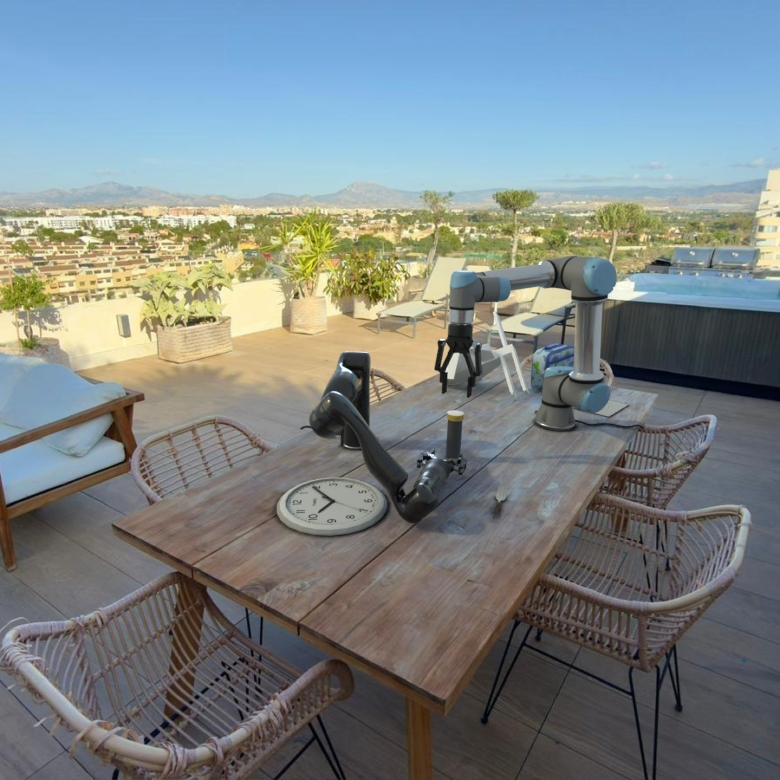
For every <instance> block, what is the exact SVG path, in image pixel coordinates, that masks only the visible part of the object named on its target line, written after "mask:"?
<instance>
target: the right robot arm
mask: <svg viewBox="0 0 780 780" xmlns="http://www.w3.org/2000/svg"><path fill="white" fill-rule="evenodd" d="M617 280H618V273H617V269H616V267H615V266H614V264H613V263H612V262H611V261H610V260H609V259H607V258H606V259H605V258H601V257H597V256H595V257H594V256H578V255H569V256H562V257H558V258H553V259H546V260H542V261H540V262H539V263H538V264H531V265H523V266H515V267H508V268H500V269H491V270H484V271H477V272H476V271H474V270H453V271H452V273H451V275H450V281H449V301H448V302H449V303H448V306H449V307H448V322H449V323H448V324H447V337H446V339H443V338H440V339H438V340H437V353H436V357H435V364H434V368H433V369H434V371H435V372H438V373H439V383H440V384H441V394H442V395H445V394H446V393H447V392H448V385H447V378H448V372H445V371H446V369H447V367H448V366H449V362H450V360H451V358H452V356H453V354H454V353H460V354H463V356H464V358H465V361H466V364H467V367H468V370H469V373H470V376H469V377H468V383H467V385H466V386H467V388H466V398H467V399H470V398H471V397H472V394H473V388H475V386H476V383H475V382H476V377H477V376H480V375H481V374H482V363H481V348H482V345H483V344H482V343H481V342H474V340H473V331H474V324H473V322H474V317H475V304H479V303H499V302H505V301H507V300H508V299H509V297H510V295H511V293H512V291H517V290H524V289H531V288H539V287H540V288H542V289H558V290H559V289H560V290H565V291H570V292H571V293H570V299H571V301H572V302H573V303H574V304H575V311H574V312H575V313H574V314H575V315H574V317H575V318H574V344H573V345H574V365H573V367H567V366H556V367H549V368H547V369H546V370H545V374H544V380H543V390H541V391H542V392H541V402H540V405H539V407H538V409H535V410H534V415H535V416H534V424H535V425H536V426H537V427H539V428H542V429H544V430H549V431H556V432H567V431H572V430H574V429H575V428H576V423H578V424H582V425H585V426H592V427H594V426H595V427H596V426H603V425H604V426H613V427H618V428H622V429H623V428H624V429H631V428H635V427H638V428H640V429H641V430H642V429H643V430H645V427H644V426H642V425H641V424H633V425H622V424H616V423H612V422H596V423H588V422H585V421H583V420H578V419H576V418H575V417H576V416H575V413H574V409H576V408H577V409H576V410H579V411H581V412H583V413H588V414H596V412H599V411H600V410H602V409H603V408H604V406H605V405H606V404H607V403H608V401H609V400H610V399H611V388H610V387H609V385H608V383H607V384H606V383H604V382H605V375H604V373H603V371H601V346H602V327H603V326H602V325H603V305H604V303H605V302H606V301H607V300H608V299H609V294H611V293H612V292H613V291H614V288H615V287H616V285H617ZM446 344H447V346H448V348H449V349H448V351H447V354H446V356H445V358H444V360H443V357H444V351H445V346H446ZM471 347H473V349H474V350H475V365H476V371H475V368H474V365H473V361H472V358H471V355H470V350H469V349H470V348H471ZM442 361H443V362H442ZM574 407H575V408H574Z"/></svg>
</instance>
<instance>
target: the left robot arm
mask: <svg viewBox="0 0 780 780" xmlns="http://www.w3.org/2000/svg"><path fill="white" fill-rule="evenodd" d="M371 367H372V359H371V355H370V353H369V352H367V351H351V350H349V351H348V350H347V351H343V352H340V354H339V356H338V359H337V362H336V364H335V369H334V371H333V373H332V375H331V376H330V377H329V380H328V381H327V383H326V386H325V388H324V390H323V392H322V395H321V398H320V400H319V402H318V403H317V404H316V405H315V406H314V407H313V408H312V409H311V411H310V412H309V416H308V422H309V425H303V426H301V427H299V430H304V429H311V430H312V431H313V433H314V434H316V435H317V437H320V438H322V439H332V438H335V437H336V436H340V446H341V447H344V448H346V449H349V450H355V451H356V450H361V454H362V458H363V462H364V465H365V467H366V469H367V470H368V473H369V474H370V475H371V476H372V478H374V480H375V481H377V483H379V485H380V486H381V487H382V489H384V490H385V492H386V494H387V495H388V497H389V498H390V501H391V502H392V504H393V506H394V508H395V510H396V512H397V513H398V515H399V517H400V518H401V519H402V520H403V521H405V522H406V523H408V524H418V523H419V522H420V521H422V520H423V518H425V517H426V516H428V514H429V513H431V512H432V511H433V510H434V509H435V508H436V507H437V506H438V504H439V501H440V492H441V491H442V490H443V489H444V487H445V485H446V483H447V481H448V480H449V478H450V475H451V474H452V473H455V472H456V473H457V474H458V476H462V475H463V474H464V473H465V471H466V469H467V464H468V463H467V462H468V459H465V458H464V454H463V453H462V452H460V453H459V455H458V457H457V458H450V459H446V458H441V457H436V456H435V453H436V452H435V449H436V448H431V449H430V450H428V452H426V453H425V452H420V453H419V455H418V456H417V458H416V469H421V468H422V467H423V468H422V469H421V470H420V472H419V474H418V477H417V478H416V480H415V482H414V484H413V487H412V490H410V491H409V492H408V493H407V494H406V492H405V489H404V486H405V485H406V483H407V481H408V480H409V474H408V472H407V471H406V469H404V468H403V467H402V466H401V464H400V463H399V462H398V461H397V460H396V459H395V458H394V457H393V456H392V454H391V453H389V451H388V450H387V449H386V448H385V447H384V445H383V444H382V442H381V441H380V440H379V439H378V438H377V436H376V435H375V433H374V431H373V430H372V428H371V427H370V426H371V425H370V423H371V422H370V419H371V418H370V417H371V412H370V411H371V407H370V406H371V405H370V403H371V395H370V394H371V388H370V387H371V369H372V368H371ZM456 462H457V463H456Z"/></svg>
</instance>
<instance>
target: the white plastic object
mask: <svg viewBox="0 0 780 780" xmlns="http://www.w3.org/2000/svg"><path fill="white" fill-rule="evenodd" d="M492 315H493V319H494V321H495V324H496V325H495V326H496V328H497V332H498V335H499V338H500V342H501V345H502V347H500V348H498V349H496V350H495V349H493V348H492V347H491V346H490V344H489V343H488V342H487V343H483V344H482V348H481V363H482V374H481V375H480V376H477V377H476V382H475V384H477V383H480V382H482V381H484V378H485V377H486V376H487V375H489V374H490V373H492V372H494V371H495V370H496V369H497V368H499V367H500V366H502V370H503V373H504V376H505V380H506V383H507V386H508V390H509V393H510V394H511V395H512V397H513V398H514V399H515V400H517V392H516V391H517V390H516V388H515V385H514V381H513V378H512V375H511V371H510V369H509V365H508V361H510V360H513V363H514V366H515V369H516V372H517V376H518V380H519V382H520V385H521V389H522V391H523V393H524V395H525V396H526V397H528V396H531V395H530V390H529V388H528V387H529V386H528V384H527V381H526V378H525V375H524V371H523V369H522V368H523V367H522V366H521V362H520V359H519V355H518V352H517V349H516V347H515V346H514V345H513V343H511V344H508V341H507V337H506V334H505V331H504V328H503V325H502V321H501V318H500V315H499V314H498V312H497V311H496V310H495V311H492ZM469 350H470V355H471V358H472V361H473V365H474V368H475V371H476V365H475V350H474V349H473V346H471V348H470V349H469ZM445 372H448V378H447V386H449V385H458V384H468V377H469V376H470V373H469V370H468V367H467V364H466V361H465V358H464V356H463V354H460V353H454V354H453V356H452V358H451V360H450V362H449V364H448V367H447V369H446V371H445Z"/></svg>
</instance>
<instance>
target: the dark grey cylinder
mask: <svg viewBox="0 0 780 780" xmlns="http://www.w3.org/2000/svg"><path fill="white" fill-rule="evenodd" d="M446 430H447V431H446V443H445V446H446V447H445V459H450V458H457V457H458V455H459V453H462V452H461V449H462V434H463V420H462V421H458V422H455V421H450V420H448V419H447V427H446ZM456 464H457V462H456Z"/></svg>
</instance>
